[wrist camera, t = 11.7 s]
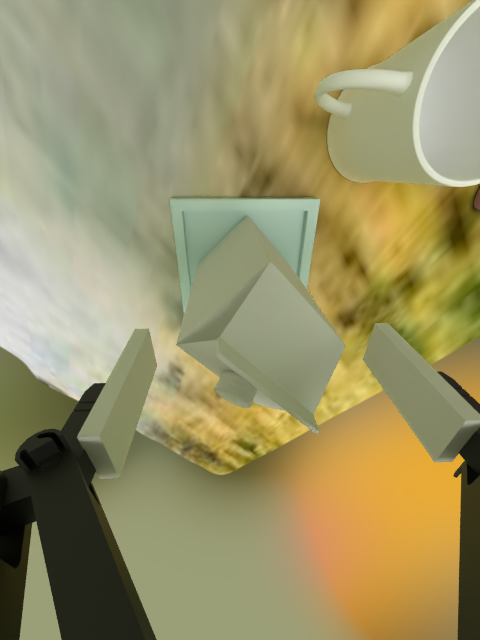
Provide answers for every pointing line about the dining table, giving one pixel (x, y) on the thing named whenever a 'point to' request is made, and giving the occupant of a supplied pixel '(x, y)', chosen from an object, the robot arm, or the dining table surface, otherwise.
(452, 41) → the mug
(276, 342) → the milk carton
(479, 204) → the teapot
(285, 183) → the dining table surface
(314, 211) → the tray
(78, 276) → the dining table surface
